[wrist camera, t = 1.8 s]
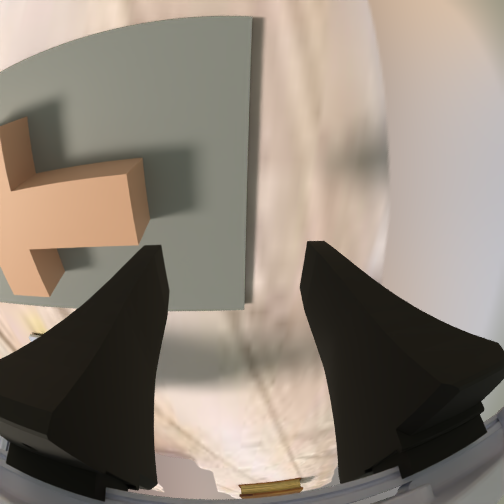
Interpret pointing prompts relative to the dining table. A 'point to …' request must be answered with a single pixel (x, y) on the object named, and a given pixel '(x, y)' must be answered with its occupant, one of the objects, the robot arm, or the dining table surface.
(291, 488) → the diary
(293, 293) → the dining table surface
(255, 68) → the dining table surface
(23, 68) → the board
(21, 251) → the t block
